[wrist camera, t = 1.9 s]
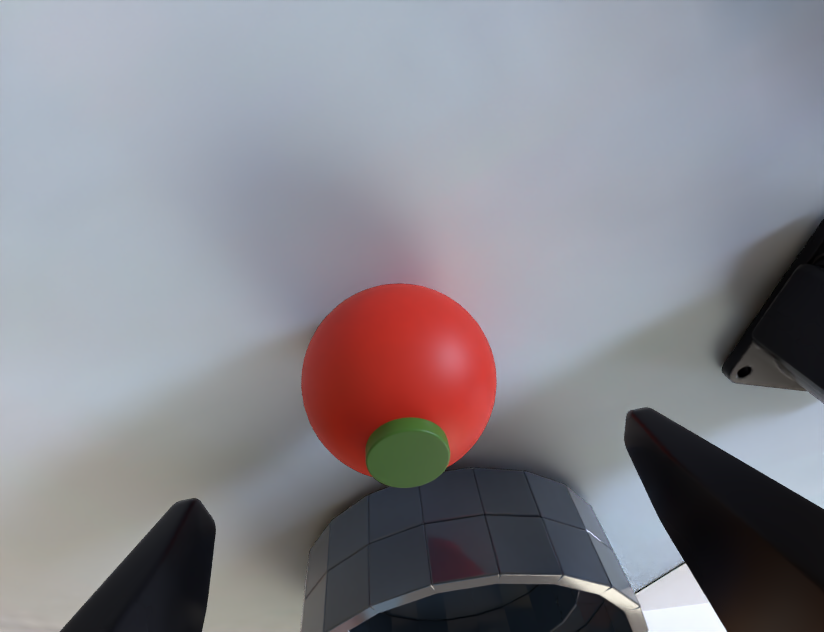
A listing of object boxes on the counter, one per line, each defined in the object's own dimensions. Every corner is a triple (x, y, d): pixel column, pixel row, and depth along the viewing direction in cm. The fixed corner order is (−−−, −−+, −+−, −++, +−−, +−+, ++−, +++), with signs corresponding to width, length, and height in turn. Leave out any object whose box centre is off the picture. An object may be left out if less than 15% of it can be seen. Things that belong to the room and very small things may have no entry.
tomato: (493, 266, 13) (560, 380, 9) (451, 395, 15) (487, 536, 11) (319, 239, 12) (294, 353, 8) (305, 382, 15) (280, 529, 10)
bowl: (643, 467, 19) (716, 577, 15) (537, 625, 25) (568, 730, 21) (323, 446, 16) (312, 570, 12) (298, 627, 23) (285, 745, 19)
